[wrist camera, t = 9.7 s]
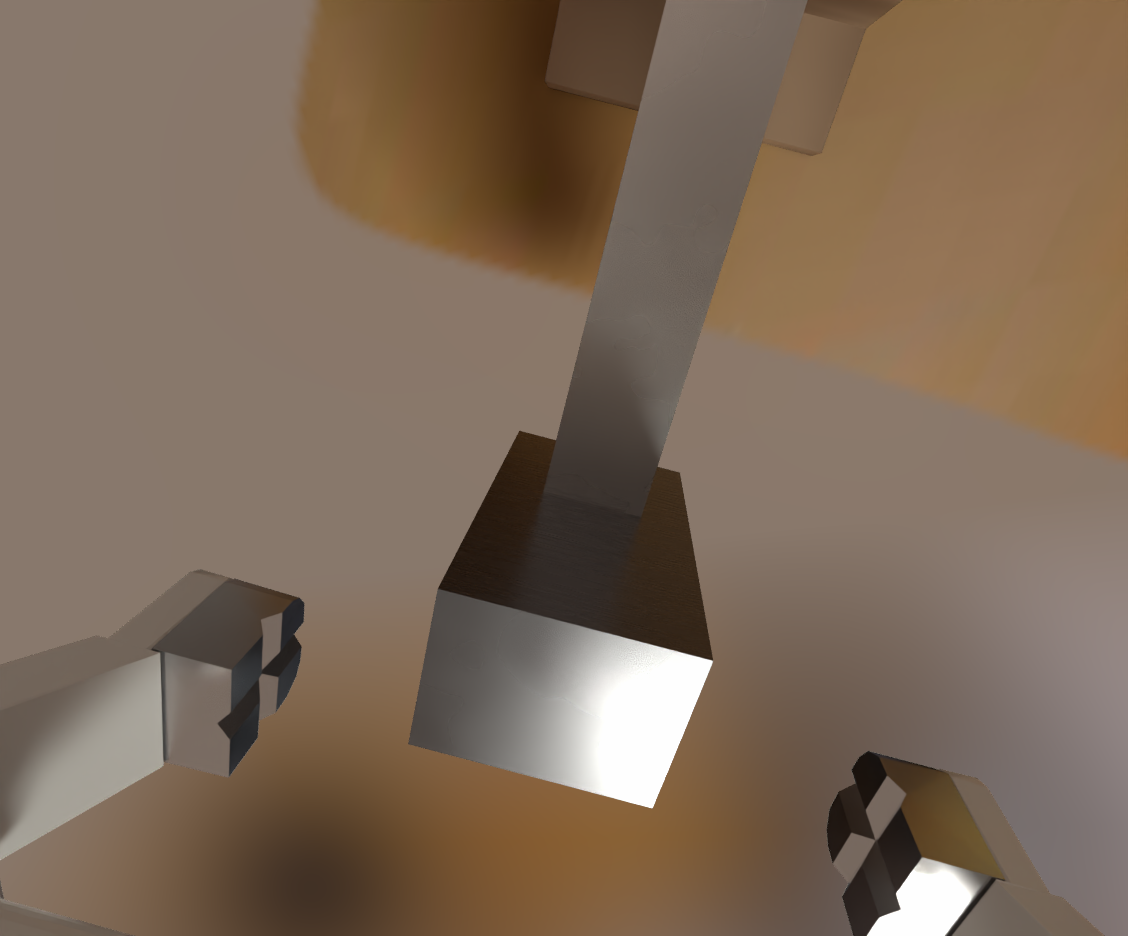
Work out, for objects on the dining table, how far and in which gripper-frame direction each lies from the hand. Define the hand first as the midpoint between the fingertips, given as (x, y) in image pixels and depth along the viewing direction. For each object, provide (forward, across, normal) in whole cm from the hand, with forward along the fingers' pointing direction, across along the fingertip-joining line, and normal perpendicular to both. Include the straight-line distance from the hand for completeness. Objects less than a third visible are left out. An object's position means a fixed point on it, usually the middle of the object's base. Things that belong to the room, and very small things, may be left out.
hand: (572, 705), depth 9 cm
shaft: (+7, 0, -5) cm, 9 cm away
